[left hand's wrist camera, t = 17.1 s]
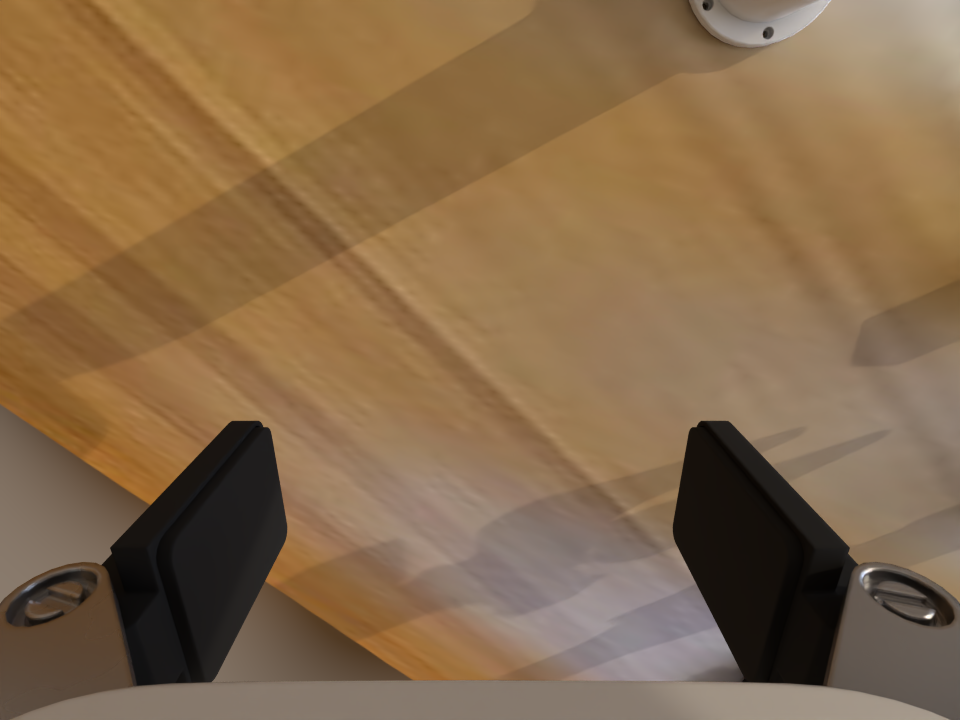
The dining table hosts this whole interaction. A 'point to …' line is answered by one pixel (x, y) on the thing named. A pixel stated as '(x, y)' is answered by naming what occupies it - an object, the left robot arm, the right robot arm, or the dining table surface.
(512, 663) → the dining table surface
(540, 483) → the dining table surface
